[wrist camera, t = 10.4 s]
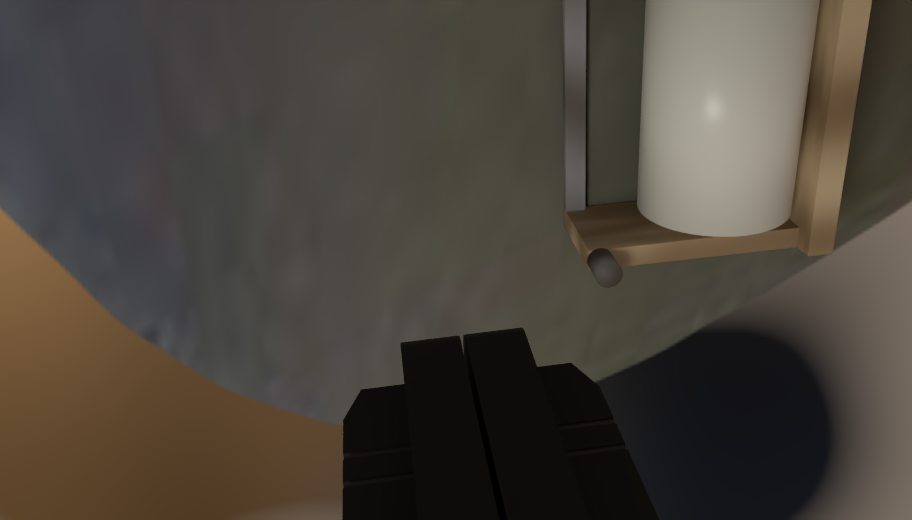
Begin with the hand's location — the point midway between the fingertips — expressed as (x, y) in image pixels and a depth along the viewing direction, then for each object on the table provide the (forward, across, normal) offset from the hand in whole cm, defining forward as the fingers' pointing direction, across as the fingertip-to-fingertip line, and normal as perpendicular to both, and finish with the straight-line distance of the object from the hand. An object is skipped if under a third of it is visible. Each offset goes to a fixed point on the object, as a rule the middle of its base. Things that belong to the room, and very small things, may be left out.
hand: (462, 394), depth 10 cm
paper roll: (+26, -14, +6) cm, 30 cm away
